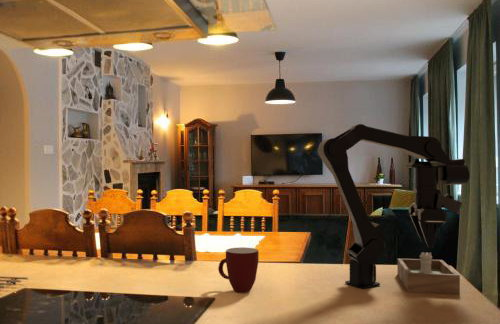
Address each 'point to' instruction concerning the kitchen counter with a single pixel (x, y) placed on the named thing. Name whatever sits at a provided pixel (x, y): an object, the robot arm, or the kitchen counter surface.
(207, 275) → the kitchen counter surface
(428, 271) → the rook chess piece
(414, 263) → the bore tray
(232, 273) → the mug
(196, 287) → the kitchen counter surface
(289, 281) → the kitchen counter surface
